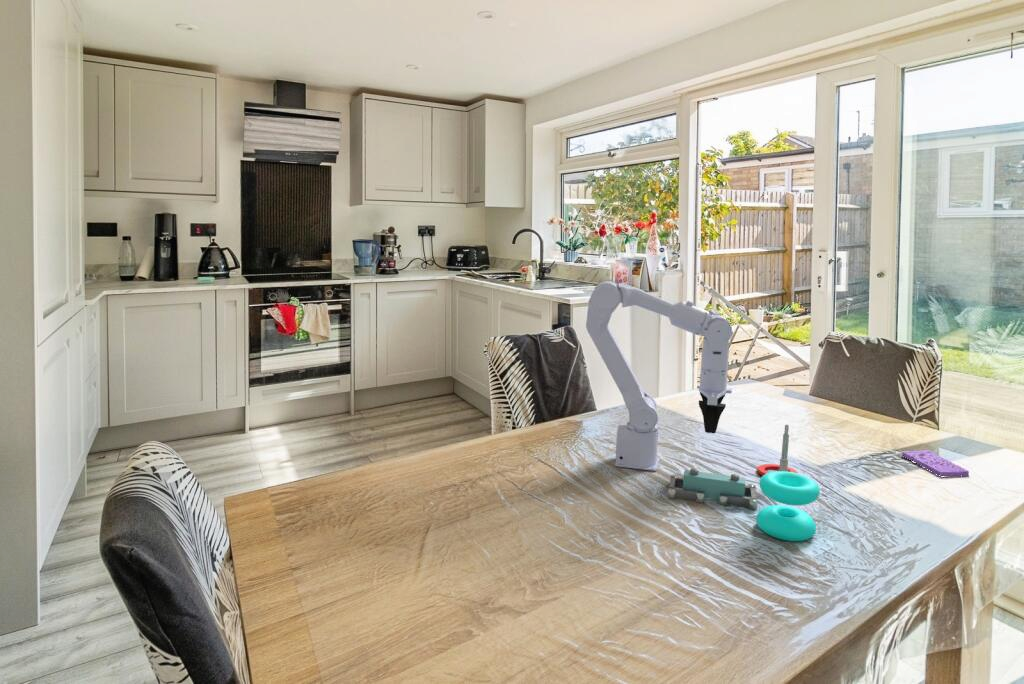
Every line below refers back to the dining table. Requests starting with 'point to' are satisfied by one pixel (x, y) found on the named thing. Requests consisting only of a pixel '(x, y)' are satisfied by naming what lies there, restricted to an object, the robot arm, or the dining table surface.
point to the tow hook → (783, 460)
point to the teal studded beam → (713, 483)
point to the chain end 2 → (741, 498)
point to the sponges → (935, 463)
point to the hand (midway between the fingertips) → (710, 427)
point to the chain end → (683, 491)
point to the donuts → (786, 518)
